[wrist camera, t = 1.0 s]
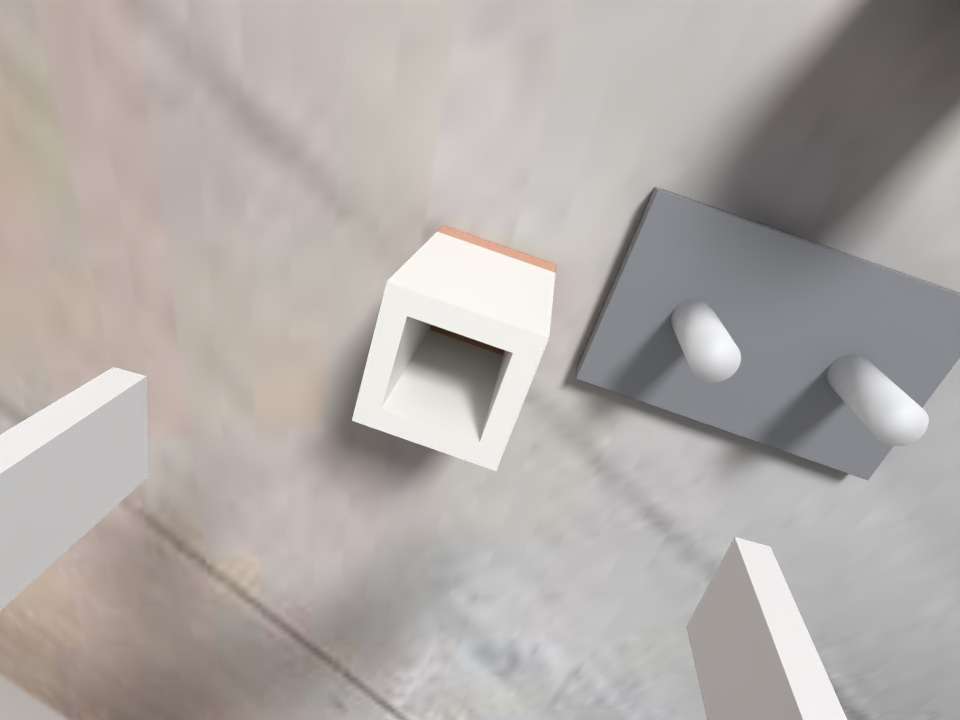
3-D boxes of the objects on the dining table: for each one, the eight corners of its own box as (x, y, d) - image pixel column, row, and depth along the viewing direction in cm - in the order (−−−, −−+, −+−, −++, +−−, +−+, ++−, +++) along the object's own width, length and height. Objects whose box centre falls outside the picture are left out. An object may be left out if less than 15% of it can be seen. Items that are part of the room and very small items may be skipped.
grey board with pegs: (576, 369, 32) (577, 427, 26) (654, 186, 28) (675, 209, 22) (858, 467, 32) (918, 546, 26) (979, 300, 28) (1083, 351, 22)
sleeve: (413, 330, 32) (351, 420, 23) (443, 225, 30) (387, 281, 21) (517, 366, 32) (496, 471, 23) (556, 264, 30) (548, 337, 21)
